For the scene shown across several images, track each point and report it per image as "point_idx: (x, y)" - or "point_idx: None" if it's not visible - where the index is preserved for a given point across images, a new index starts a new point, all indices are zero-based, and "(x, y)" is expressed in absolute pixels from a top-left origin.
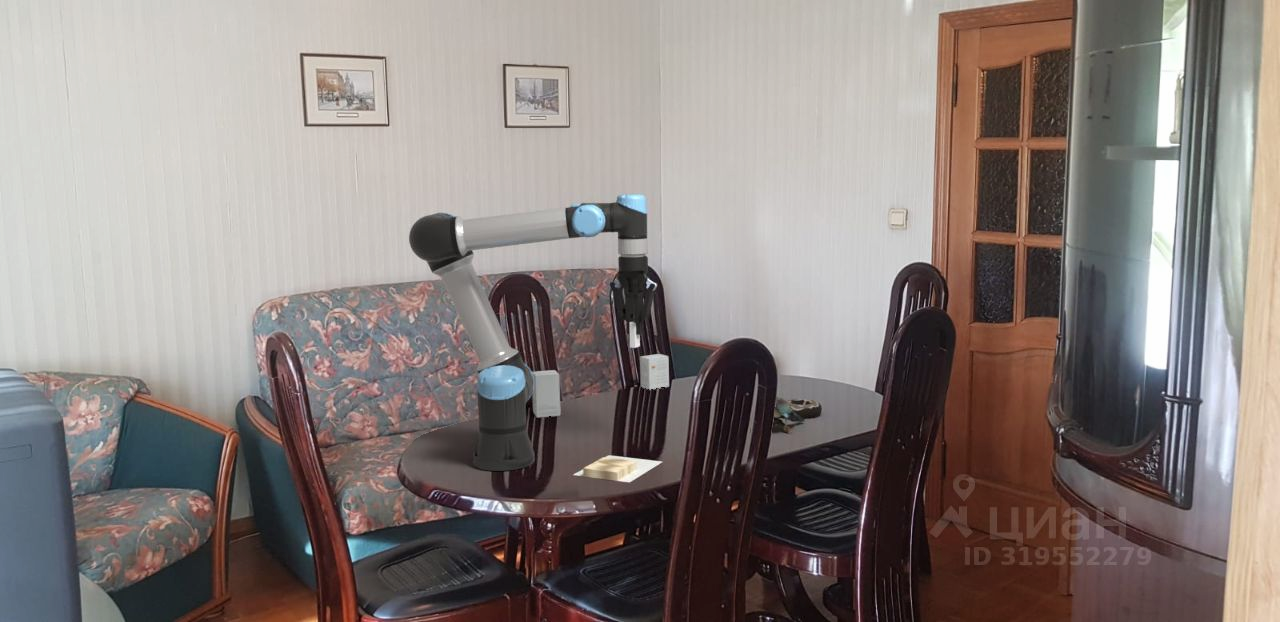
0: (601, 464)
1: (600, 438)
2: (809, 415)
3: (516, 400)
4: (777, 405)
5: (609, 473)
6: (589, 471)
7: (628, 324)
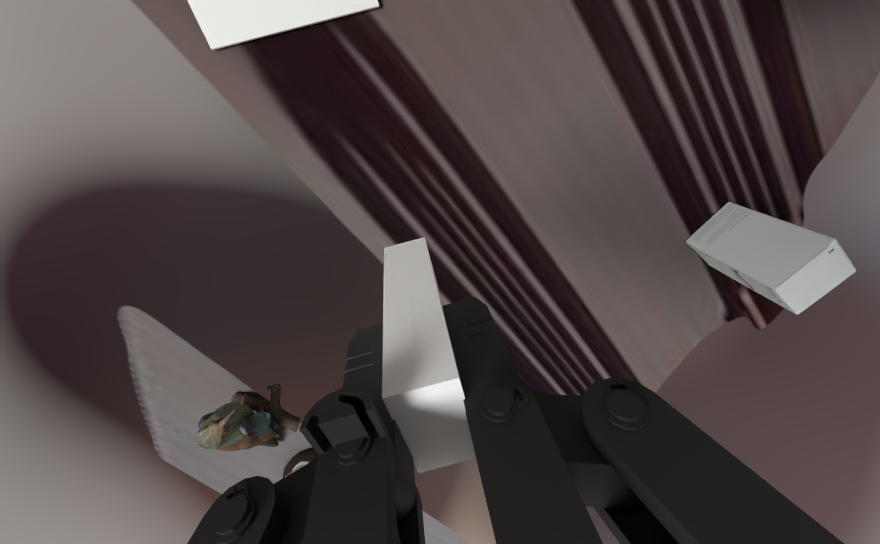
0: None
1: (514, 154)
2: (288, 462)
3: None
4: (199, 421)
5: None
6: None
7: (487, 367)
